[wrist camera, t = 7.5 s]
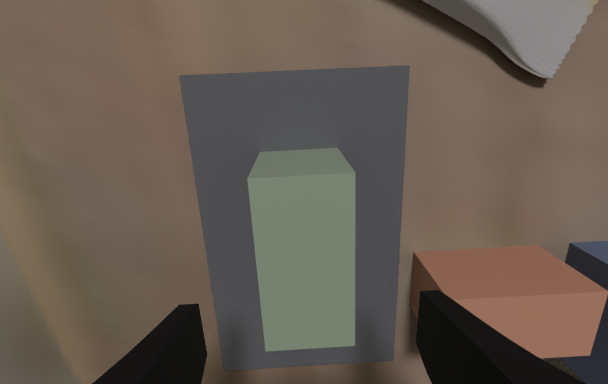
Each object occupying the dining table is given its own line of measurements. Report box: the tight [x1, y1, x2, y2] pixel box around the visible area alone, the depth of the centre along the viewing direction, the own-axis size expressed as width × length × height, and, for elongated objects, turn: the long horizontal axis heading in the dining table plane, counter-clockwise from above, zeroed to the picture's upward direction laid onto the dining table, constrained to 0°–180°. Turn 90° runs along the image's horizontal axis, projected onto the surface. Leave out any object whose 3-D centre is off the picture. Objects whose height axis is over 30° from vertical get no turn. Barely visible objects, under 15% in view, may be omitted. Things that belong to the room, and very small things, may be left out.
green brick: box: [247, 148, 355, 352], centre depth 16 cm, size 8×4×5 cm, turn 3°
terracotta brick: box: [410, 246, 608, 358], centre depth 19 cm, size 8×4×5 cm, turn 92°
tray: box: [179, 66, 409, 371], centre depth 19 cm, size 18×11×2 cm, turn 2°
